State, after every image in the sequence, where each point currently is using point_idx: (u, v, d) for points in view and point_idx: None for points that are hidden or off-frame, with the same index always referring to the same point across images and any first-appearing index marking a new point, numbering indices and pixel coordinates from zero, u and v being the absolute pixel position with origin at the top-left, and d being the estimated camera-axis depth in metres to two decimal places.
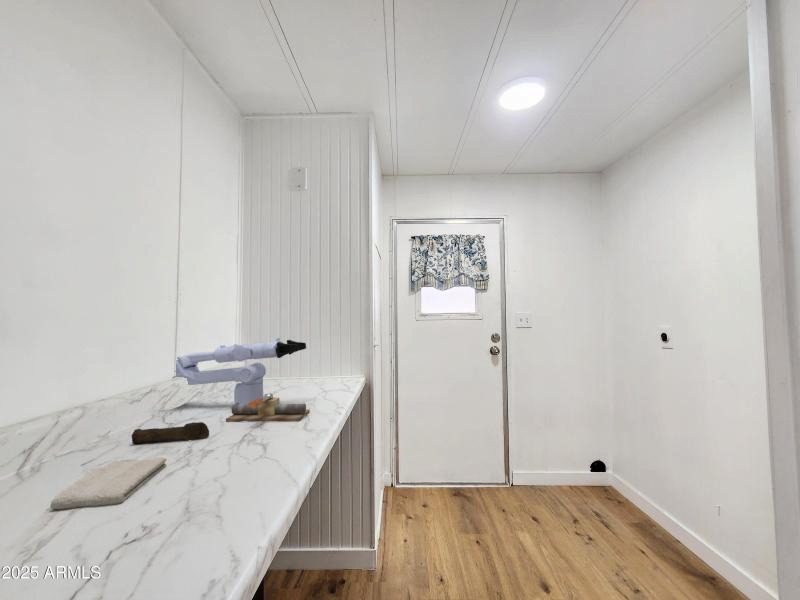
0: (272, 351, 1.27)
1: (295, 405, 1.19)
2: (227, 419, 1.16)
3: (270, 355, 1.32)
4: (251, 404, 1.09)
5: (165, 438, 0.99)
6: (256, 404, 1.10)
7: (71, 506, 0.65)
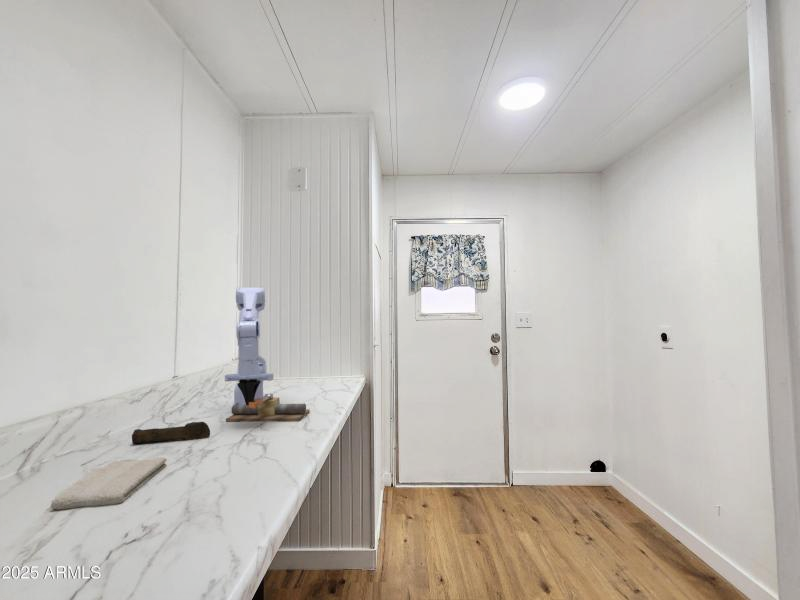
0: None
1: (295, 405, 1.19)
2: (227, 419, 1.16)
3: None
4: (251, 404, 1.09)
5: (165, 438, 0.99)
6: (256, 404, 1.10)
7: (71, 506, 0.65)
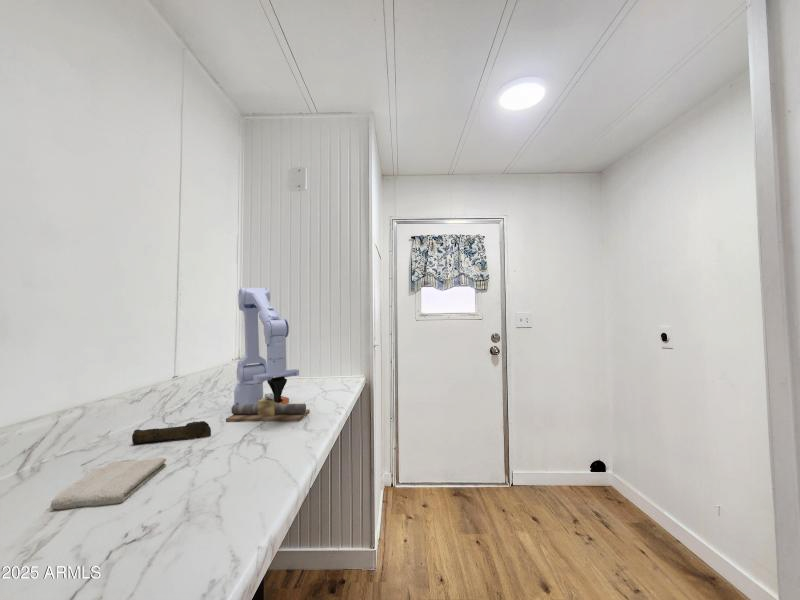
0: (254, 379, 1.08)
1: (295, 405, 1.19)
2: (227, 419, 1.16)
3: None
4: (285, 400, 1.12)
5: (166, 438, 0.99)
6: None
7: (71, 506, 0.65)
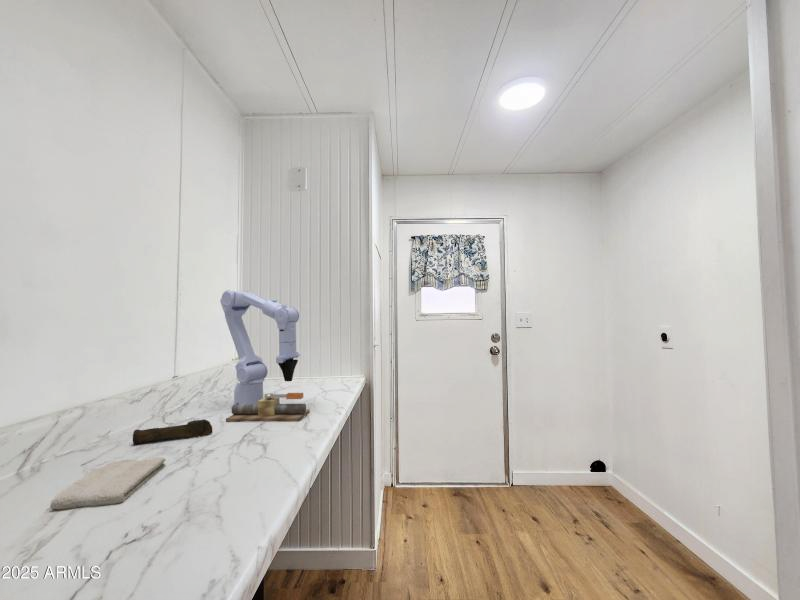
0: (278, 360, 1.20)
1: (295, 405, 1.19)
2: (227, 419, 1.16)
3: (280, 349, 1.26)
4: (301, 395, 1.19)
5: (168, 437, 1.00)
6: None
7: (71, 506, 0.65)
